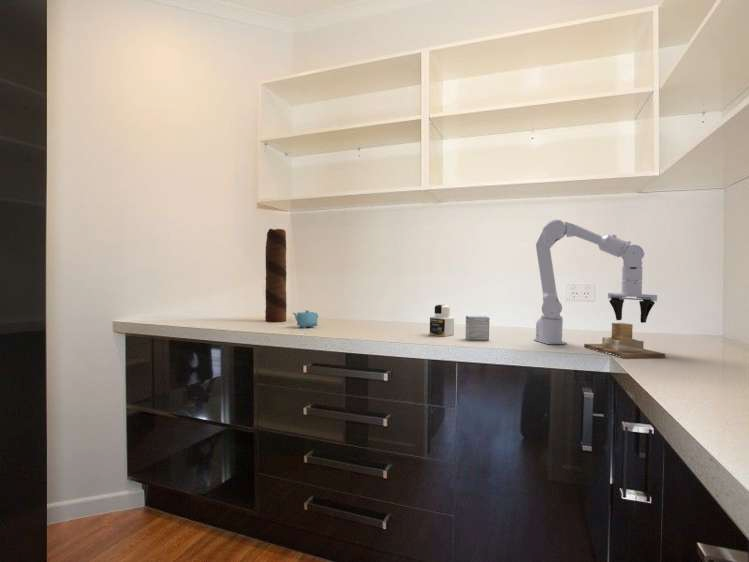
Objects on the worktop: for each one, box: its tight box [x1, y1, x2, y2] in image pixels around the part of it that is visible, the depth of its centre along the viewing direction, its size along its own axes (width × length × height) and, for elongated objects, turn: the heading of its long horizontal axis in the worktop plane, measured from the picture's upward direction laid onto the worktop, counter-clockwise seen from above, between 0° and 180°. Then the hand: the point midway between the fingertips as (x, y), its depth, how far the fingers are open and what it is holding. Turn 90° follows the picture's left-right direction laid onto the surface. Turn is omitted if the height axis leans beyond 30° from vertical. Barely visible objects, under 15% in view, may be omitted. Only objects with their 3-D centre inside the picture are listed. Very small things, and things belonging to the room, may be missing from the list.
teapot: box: [292, 310, 319, 329], centre depth 178 cm, size 12×6×8 cm, turn 118°
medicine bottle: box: [429, 304, 455, 338], centre depth 163 cm, size 7×7×12 cm
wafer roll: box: [264, 228, 287, 323], centre depth 199 cm, size 10×11×45 cm
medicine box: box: [465, 315, 490, 341], centre depth 152 cm, size 8×4×9 cm, turn 92°
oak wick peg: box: [611, 322, 634, 341], centre depth 130 cm, size 4×4×8 cm
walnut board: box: [583, 336, 666, 359], centre depth 130 cm, size 18×14×4 cm
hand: (630, 321), depth 136 cm, fingers open, 7 cm apart
